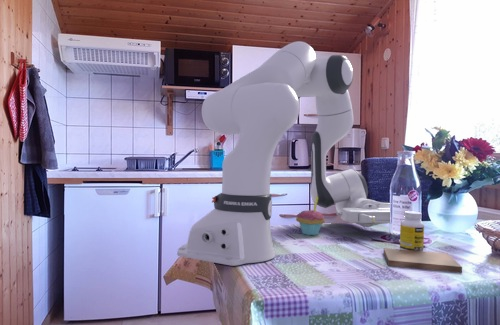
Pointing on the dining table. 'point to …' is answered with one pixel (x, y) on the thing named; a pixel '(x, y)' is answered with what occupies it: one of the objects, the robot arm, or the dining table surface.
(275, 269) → the dining table surface
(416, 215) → the supplement bottle
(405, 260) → the serving board
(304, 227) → the cupcake
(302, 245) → the dining table surface
